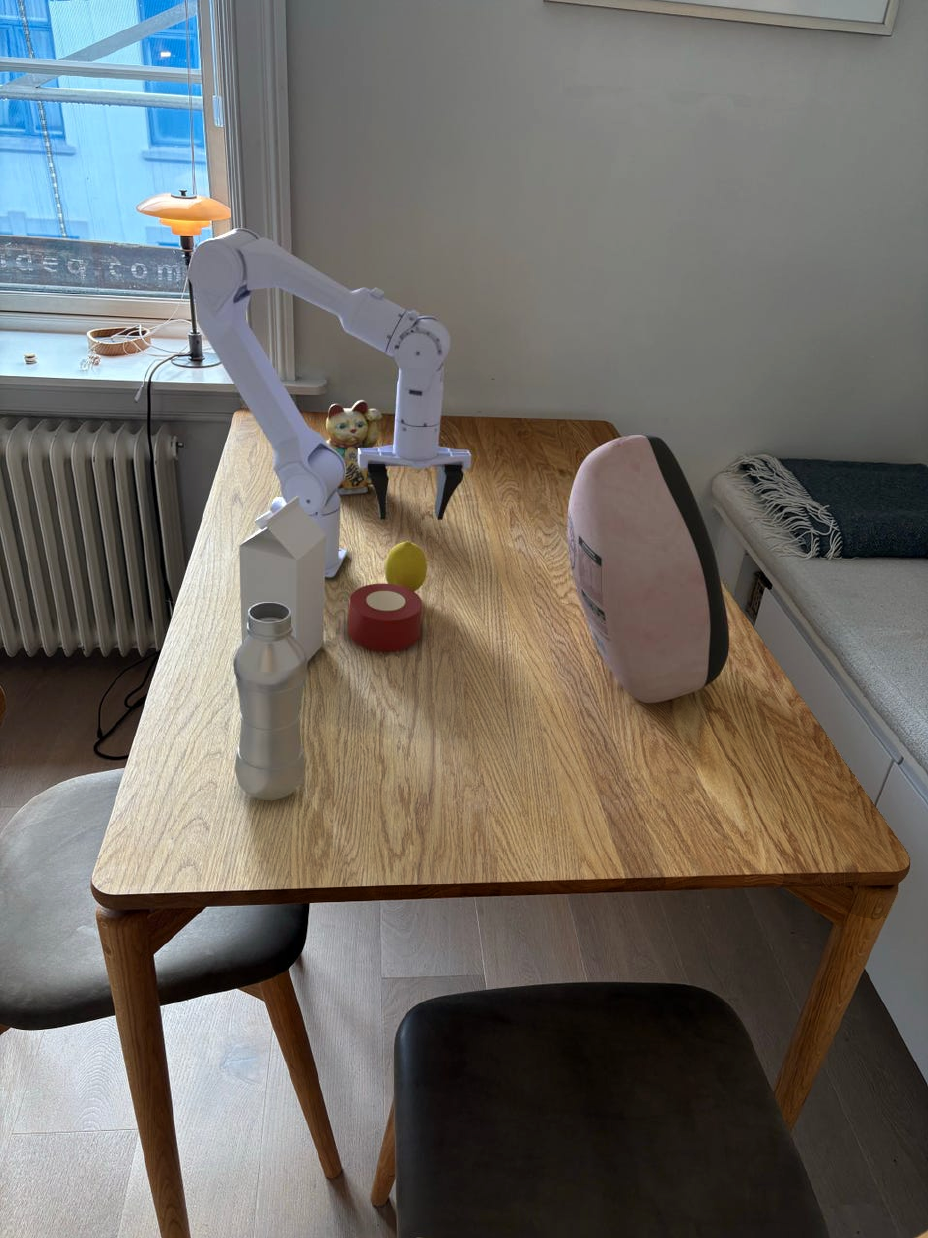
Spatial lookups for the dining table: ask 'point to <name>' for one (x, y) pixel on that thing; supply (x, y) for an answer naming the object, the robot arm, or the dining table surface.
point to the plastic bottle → (270, 704)
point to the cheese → (384, 617)
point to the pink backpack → (646, 570)
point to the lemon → (406, 566)
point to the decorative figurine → (352, 441)
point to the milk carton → (286, 571)
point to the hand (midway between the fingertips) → (410, 516)
